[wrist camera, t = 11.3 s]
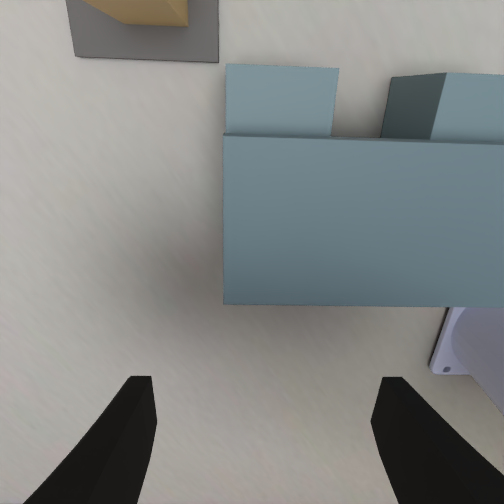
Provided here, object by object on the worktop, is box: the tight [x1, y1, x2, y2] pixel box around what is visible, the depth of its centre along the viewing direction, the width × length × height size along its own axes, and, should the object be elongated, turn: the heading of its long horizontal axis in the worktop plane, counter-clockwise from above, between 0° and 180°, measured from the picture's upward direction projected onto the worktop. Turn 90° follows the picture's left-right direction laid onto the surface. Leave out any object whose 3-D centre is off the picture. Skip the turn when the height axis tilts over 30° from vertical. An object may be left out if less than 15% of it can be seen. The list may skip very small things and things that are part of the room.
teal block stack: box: [223, 64, 504, 308], centre depth 14 cm, size 11×8×6 cm
